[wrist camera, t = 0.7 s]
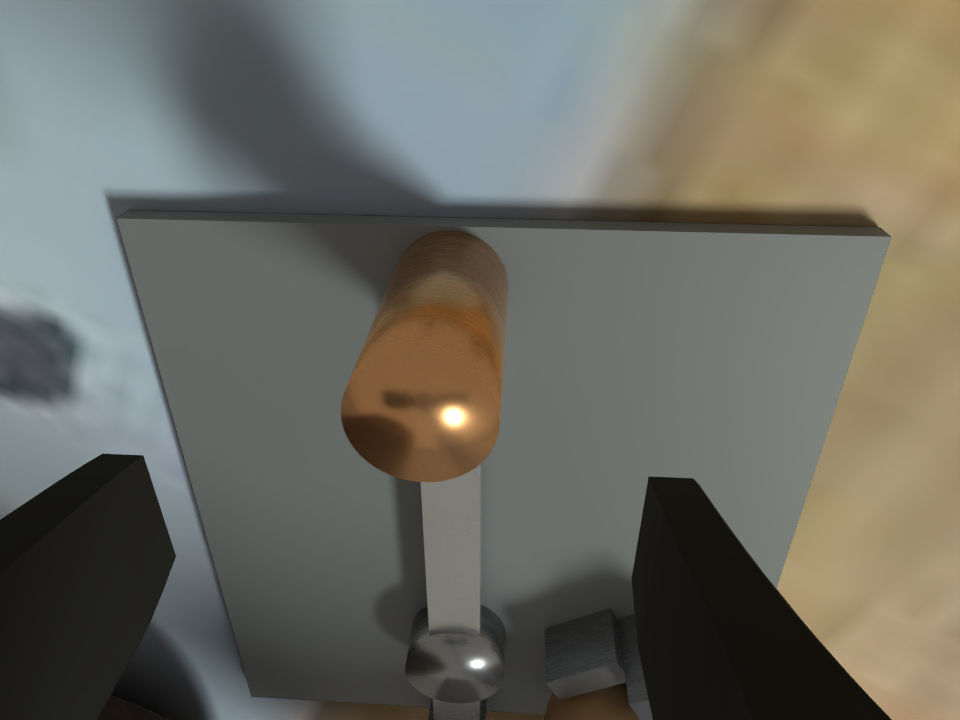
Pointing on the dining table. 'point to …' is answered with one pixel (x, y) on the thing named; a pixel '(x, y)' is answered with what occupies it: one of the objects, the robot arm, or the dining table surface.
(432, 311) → the lever
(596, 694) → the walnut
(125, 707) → the pottery
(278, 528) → the board
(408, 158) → the dining table surface
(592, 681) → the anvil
